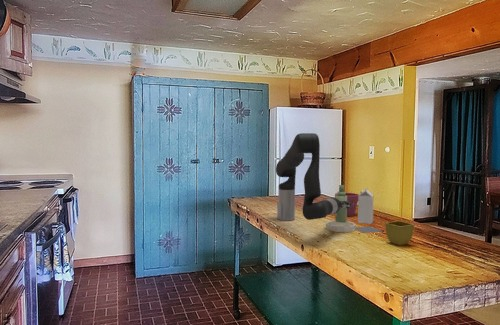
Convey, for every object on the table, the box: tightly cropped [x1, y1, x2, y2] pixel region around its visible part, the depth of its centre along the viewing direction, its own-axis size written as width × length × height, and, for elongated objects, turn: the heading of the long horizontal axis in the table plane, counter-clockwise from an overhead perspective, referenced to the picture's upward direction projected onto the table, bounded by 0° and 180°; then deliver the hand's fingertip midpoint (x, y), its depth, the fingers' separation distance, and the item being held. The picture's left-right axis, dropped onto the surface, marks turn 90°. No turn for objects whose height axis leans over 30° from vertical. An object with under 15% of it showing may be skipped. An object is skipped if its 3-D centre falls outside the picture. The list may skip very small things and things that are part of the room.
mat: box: [355, 226, 384, 234], centre depth 189 cm, size 11×11×1 cm
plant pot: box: [334, 192, 360, 217], centre depth 228 cm, size 14×14×13 cm
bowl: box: [325, 220, 357, 233], centre depth 191 cm, size 14×14×3 cm
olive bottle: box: [334, 184, 348, 223], centre depth 190 cm, size 6×6×18 cm
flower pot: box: [384, 220, 415, 246], centre depth 165 cm, size 9×9×9 cm
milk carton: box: [357, 187, 374, 225], centre depth 207 cm, size 7×7×19 cm
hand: (343, 202), depth 192 cm, fingers closed on olive bottle, 5 cm apart
